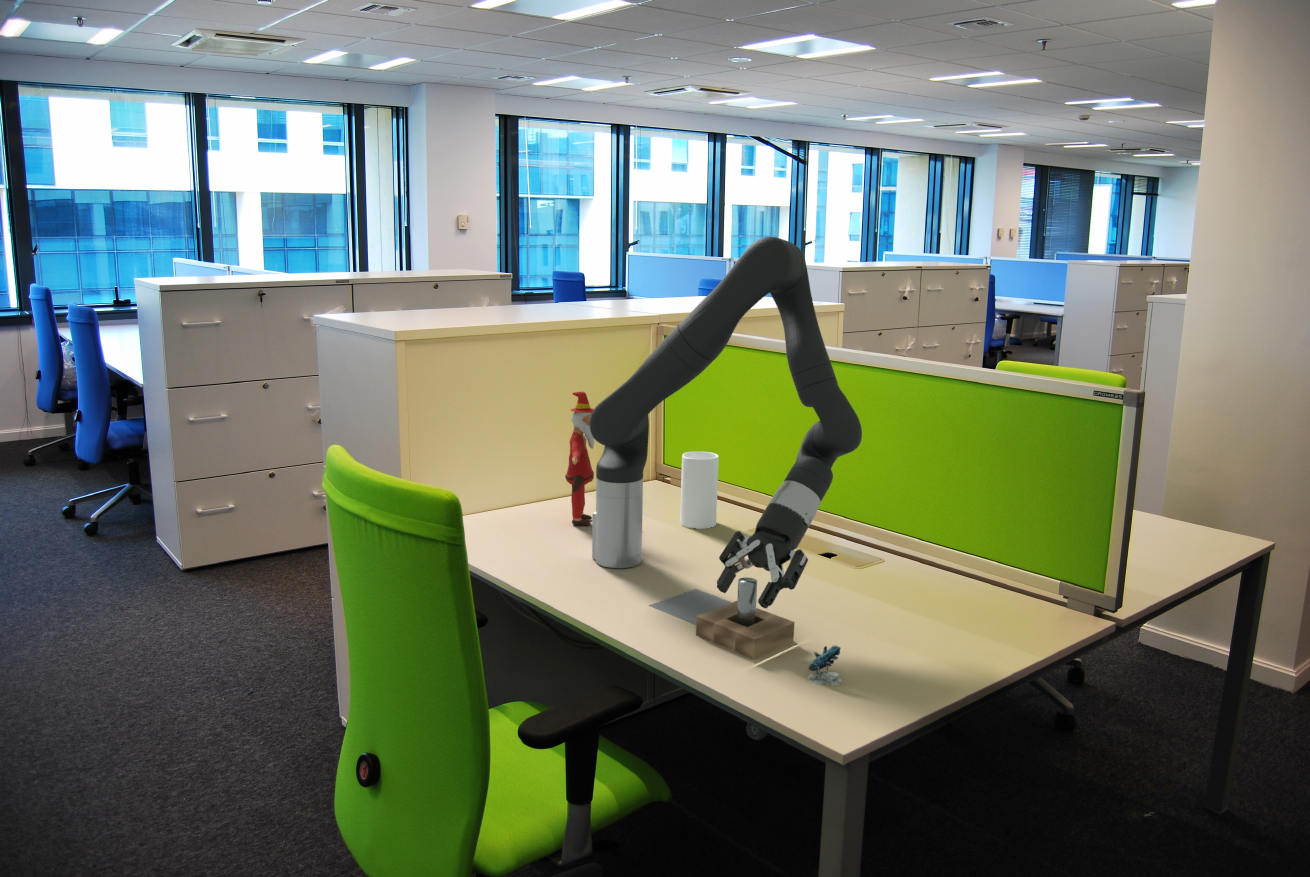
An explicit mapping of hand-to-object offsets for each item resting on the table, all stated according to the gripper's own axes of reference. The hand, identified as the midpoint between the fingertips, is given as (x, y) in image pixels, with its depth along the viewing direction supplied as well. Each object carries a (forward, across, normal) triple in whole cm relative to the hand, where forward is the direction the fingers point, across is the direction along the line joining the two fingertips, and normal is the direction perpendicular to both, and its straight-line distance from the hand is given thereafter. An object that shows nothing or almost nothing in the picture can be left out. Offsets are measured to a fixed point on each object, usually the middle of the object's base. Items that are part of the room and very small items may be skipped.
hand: (740, 597), depth 145 cm
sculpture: (+6, +17, +5) cm, 19 cm away
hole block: (+4, 0, +6) cm, 8 cm away
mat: (+2, -13, +9) cm, 16 cm away
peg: (+4, 0, +6) cm, 8 cm away
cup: (-24, -48, +35) cm, 64 cm away
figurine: (-10, -66, +21) cm, 70 cm away
